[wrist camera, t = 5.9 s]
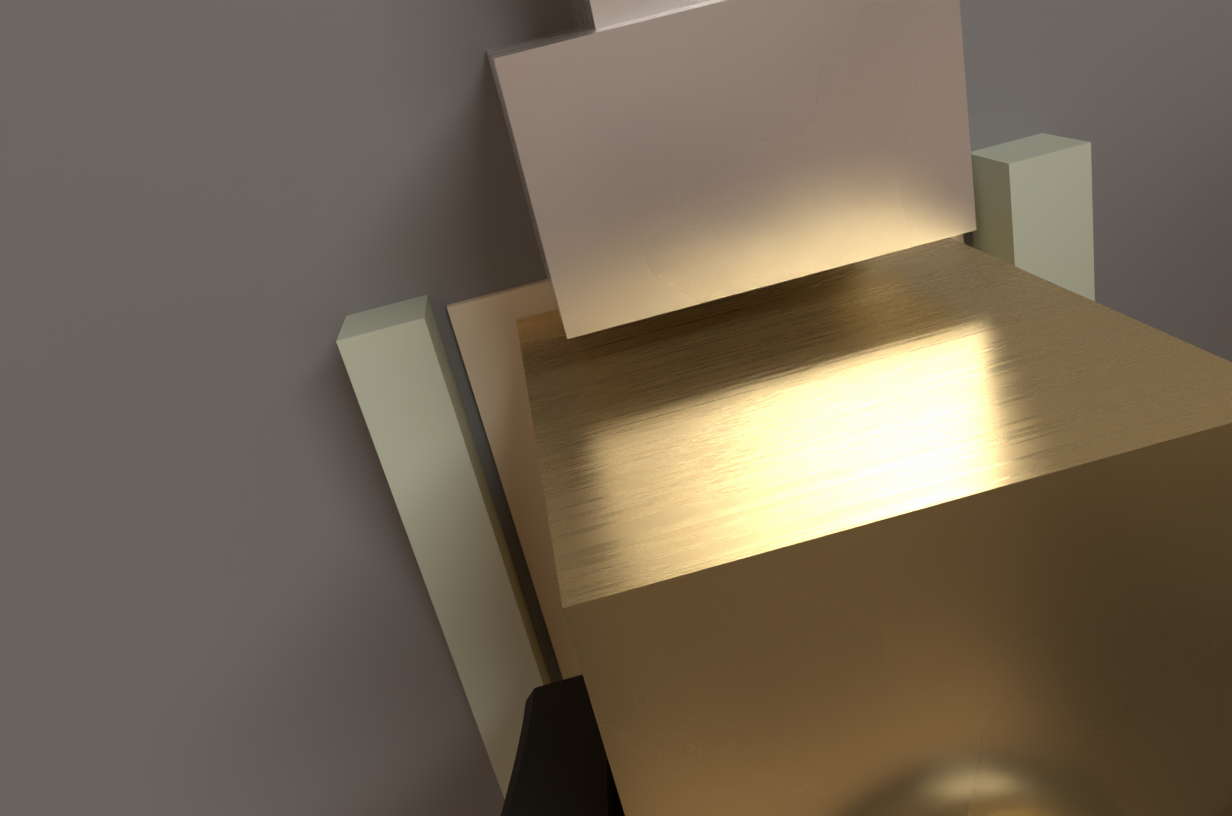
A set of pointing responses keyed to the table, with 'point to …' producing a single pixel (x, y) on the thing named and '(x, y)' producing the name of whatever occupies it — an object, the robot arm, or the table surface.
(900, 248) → the shafts
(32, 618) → the board
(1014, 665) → the block
